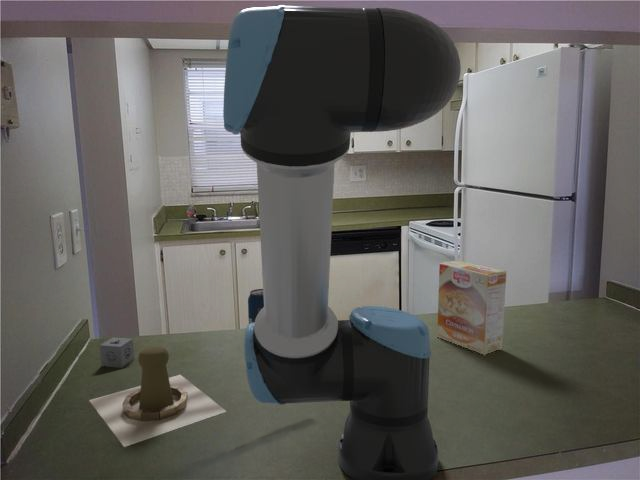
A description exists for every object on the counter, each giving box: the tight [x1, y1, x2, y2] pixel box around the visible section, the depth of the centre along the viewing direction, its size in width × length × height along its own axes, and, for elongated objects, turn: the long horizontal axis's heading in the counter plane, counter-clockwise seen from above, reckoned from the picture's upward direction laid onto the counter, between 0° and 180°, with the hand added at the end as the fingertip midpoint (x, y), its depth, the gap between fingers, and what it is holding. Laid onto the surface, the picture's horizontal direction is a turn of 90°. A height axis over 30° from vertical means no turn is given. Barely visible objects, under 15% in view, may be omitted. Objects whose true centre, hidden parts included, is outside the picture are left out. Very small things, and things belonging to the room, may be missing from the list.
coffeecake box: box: [436, 259, 507, 355], centre depth 126 cm, size 15×7×20 cm, turn 33°
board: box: [88, 374, 228, 448], centre depth 94 cm, size 20×18×1 cm
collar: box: [122, 385, 188, 421], centre depth 94 cm, size 11×11×2 cm
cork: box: [137, 345, 174, 410], centre depth 93 cm, size 6×6×11 cm
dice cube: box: [99, 336, 135, 369], centre depth 117 cm, size 5×5×5 cm
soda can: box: [247, 288, 264, 325], centre depth 132 cm, size 7×7×12 cm
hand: (295, 243), depth 103 cm, fingers open, 13 cm apart
